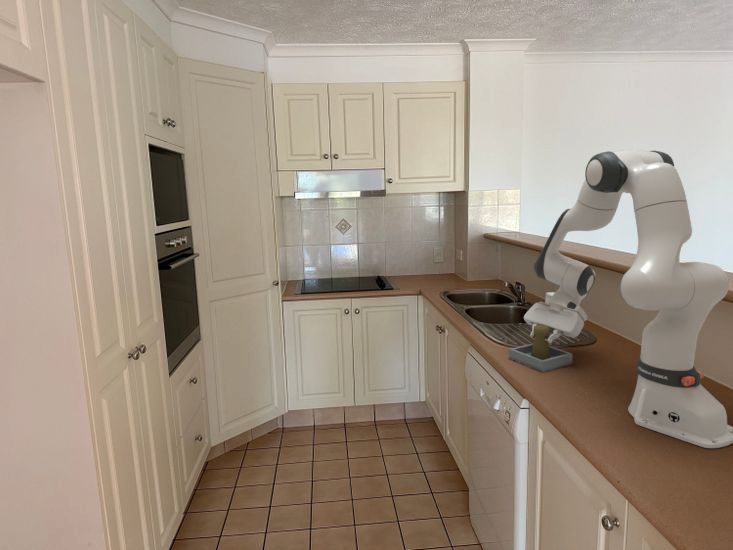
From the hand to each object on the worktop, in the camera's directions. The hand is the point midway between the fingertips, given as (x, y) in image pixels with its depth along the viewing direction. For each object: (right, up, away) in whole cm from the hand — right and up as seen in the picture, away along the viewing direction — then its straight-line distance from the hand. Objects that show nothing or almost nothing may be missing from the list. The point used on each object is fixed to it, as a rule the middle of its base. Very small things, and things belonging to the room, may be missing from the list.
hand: (539, 339), depth 154 cm
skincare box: (+20, -1, +36) cm, 41 cm away
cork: (+1, -6, +1) cm, 7 cm away
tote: (+1, -8, +2) cm, 8 cm away
